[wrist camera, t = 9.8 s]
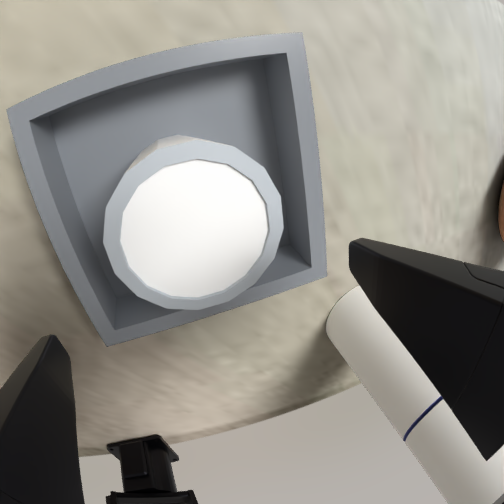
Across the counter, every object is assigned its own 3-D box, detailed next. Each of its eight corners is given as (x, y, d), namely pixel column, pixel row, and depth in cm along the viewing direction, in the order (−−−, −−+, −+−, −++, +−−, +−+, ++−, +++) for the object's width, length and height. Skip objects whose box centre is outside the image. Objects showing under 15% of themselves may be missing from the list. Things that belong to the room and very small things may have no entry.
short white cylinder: (234, 235, 20) (276, 301, 14) (122, 245, 18) (117, 320, 12) (240, 123, 17) (293, 141, 11) (114, 127, 15) (93, 147, 9)
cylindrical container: (359, 271, 26) (569, 499, 5) (400, 293, 29) (568, 471, 8) (311, 335, 28) (471, 572, 7) (357, 348, 31) (497, 533, 10)
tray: (299, 247, 23) (327, 276, 20) (109, 306, 20) (106, 346, 17) (271, 42, 16) (302, 32, 12) (33, 105, 13) (6, 109, 10)
